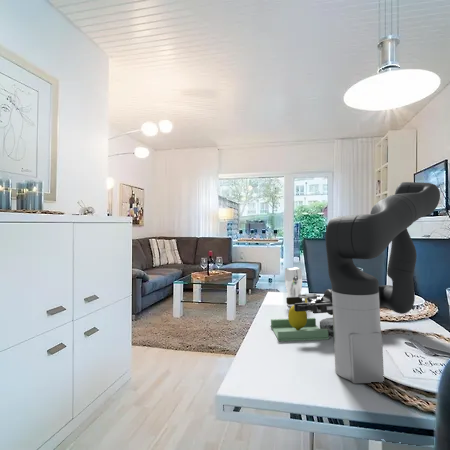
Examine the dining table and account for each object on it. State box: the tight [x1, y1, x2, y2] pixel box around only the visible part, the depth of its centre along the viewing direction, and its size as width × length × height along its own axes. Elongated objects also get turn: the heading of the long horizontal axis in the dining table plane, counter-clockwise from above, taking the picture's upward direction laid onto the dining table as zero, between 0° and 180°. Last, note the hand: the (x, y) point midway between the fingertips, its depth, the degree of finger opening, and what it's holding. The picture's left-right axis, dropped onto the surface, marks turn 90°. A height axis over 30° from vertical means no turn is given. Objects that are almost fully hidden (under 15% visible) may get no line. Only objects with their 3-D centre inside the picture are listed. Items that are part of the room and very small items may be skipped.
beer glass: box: [284, 267, 303, 308], centre depth 124 cm, size 7×7×15 cm
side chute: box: [270, 317, 330, 342], centre depth 91 cm, size 14×14×2 cm
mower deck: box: [319, 317, 334, 338], centre depth 91 cm, size 14×14×2 cm
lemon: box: [287, 305, 308, 330], centre depth 91 cm, size 6×6×8 cm
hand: (290, 304), depth 91 cm, fingers open, 8 cm apart
